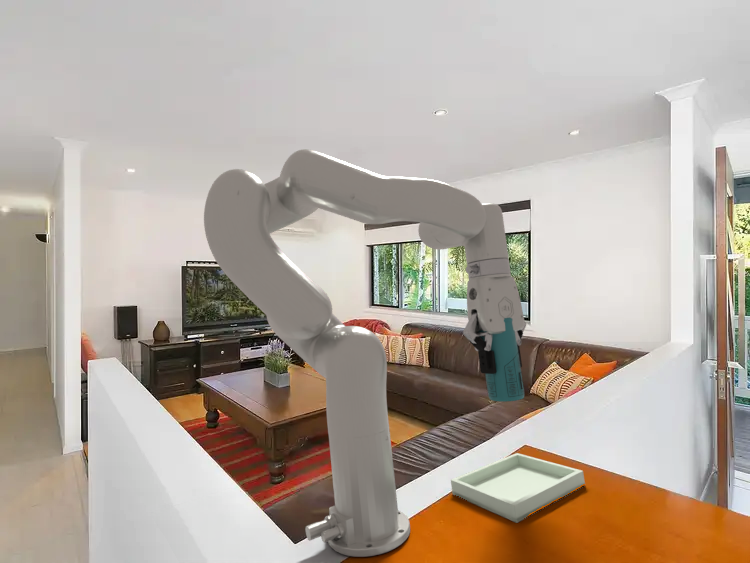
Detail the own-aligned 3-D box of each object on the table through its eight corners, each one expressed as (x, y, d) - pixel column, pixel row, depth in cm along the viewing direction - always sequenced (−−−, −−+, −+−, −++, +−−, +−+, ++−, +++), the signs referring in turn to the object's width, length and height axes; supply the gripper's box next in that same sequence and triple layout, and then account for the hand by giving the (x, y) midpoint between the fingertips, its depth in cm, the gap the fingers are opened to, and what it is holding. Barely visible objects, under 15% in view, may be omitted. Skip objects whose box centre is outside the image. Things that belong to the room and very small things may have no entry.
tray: (516, 522, 60) (514, 505, 61) (452, 494, 72) (450, 479, 72) (585, 485, 70) (582, 470, 70) (518, 465, 82) (516, 452, 82)
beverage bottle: (529, 409, 69) (513, 292, 71) (489, 411, 70) (474, 296, 72) (523, 401, 75) (508, 294, 77) (486, 403, 76) (473, 298, 78)
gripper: (469, 269, 67) (483, 379, 65) (535, 267, 76) (549, 364, 74) (439, 276, 73) (451, 376, 72) (504, 273, 82) (516, 362, 81)
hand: (501, 369), depth 73 cm, fingers closed on beverage bottle, 6 cm apart
